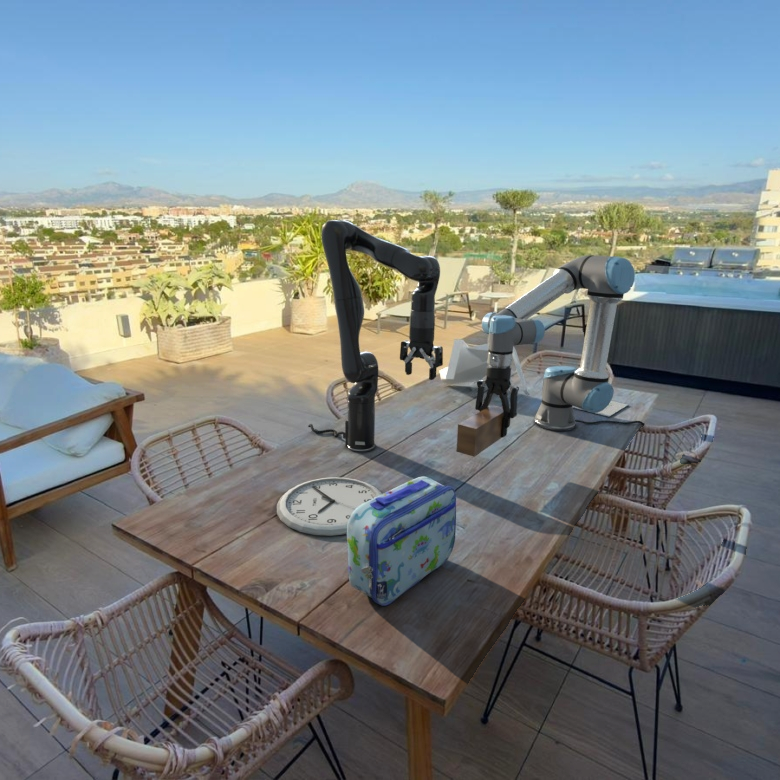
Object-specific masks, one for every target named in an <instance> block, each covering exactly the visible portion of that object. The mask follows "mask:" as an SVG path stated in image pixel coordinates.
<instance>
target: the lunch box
mask: <svg viewBox="0 0 780 780" xmlns="http://www.w3.org/2000/svg"><path fill="white" fill-rule="evenodd" d="M456 524H457V494H456V490H455V488H454V487H453V486H451V485H444V484H441V483H440V482H438V481H436V480H434V479H432V478H431V477H428V476H422V475H421V476H419V477H416V478H413V479H411V480H408V481H407V482H404V483H402V484H400V485H398V486H396V487H394V488H392V489H390V490H388V491H386V492H383V494H381V495H380V496H378V497H376V498H374V499H372V500H370V501H368V502H365V503H363V504H362V505H360V506H358V507H357V508H356V509H355V510H354V511H353V513H352V514H351V516H350V518H349V521H348V525H347V534H346V545H347V546H346V548H347V570H348V572H347V573H348V581H349V583H350V585H351V587H353V588H354V589H356V590H358V591H361V592H362V593H364V594H365V595H366V596H368V597H369V598H371V599H372V601H373V602H374V603H375V604H378V605H379V606H383V607H386V606H388V605H390V604H392V603H394V601H396V600H397V599H398V598H399V597H400V596H402V595H403V594H404V593H406V592H407V591H408V590H410V589H411V588H413V587H414V586H415V585H417V584H418V583H419V582H421V580H422V579H424V577H426V576H427V575H430V573H432V572H434V571H435V570H436V569H438V568H440V567H441V566H442V565H444V563H446V562H447V561H448V559H449V558H450V556H451V554H452V552H453V549H454V546H455V542H456V529H457V525H456Z"/></svg>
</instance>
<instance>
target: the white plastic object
mask: <svg viewBox="0 0 780 780" xmlns="http://www.w3.org/2000/svg"><path fill="white" fill-rule="evenodd" d="M492 313H497V311H496V310H495V311H492ZM488 346H489V342H487V343H483V344H479V345H473V346H469V345H468V343H466V342H465V340H464V339H463V338H460V339H458V338H454V340H453V344H452V349H451V353H450V357H449V362H448V366H446V367H444V368H442V369H440V370H439V371H438V372H439V376H440V381H442V383H443V384H444V385H445V386H449V385H458V384H467V383H468V384H469V383H473V384H477V382H478V381H480V380H484V378H485V377H487V376H486V373H487V366H488V365H489V364H488V363H487V360H488ZM512 361H513V363H514V366H515V369H516V372H517V376H518V380H519V382H520V385H521V389H522V391H523V393H524V395H525V396H526V397H528V396H531V395H530V390H529V388H528V387H529V386H528V384H527V381H526V378H525V375H524V371H523V369H522V368H523V367H522V366H521V362H520V359H519V355H518V352H517V349H516V347H515V346H513V353H512ZM510 383H511V385H512V386H514V387H515V385H514V381H513V378H512V376H511V377H510ZM508 391H510V389H508Z"/></svg>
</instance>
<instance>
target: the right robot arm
mask: <svg viewBox="0 0 780 780" xmlns="http://www.w3.org/2000/svg"><path fill="white" fill-rule="evenodd" d="M635 273H636V272H635V269H634V266H633V264H632V263H631V261H630V260H629V259H627V258H626V257H620V256H615V255H614V256H613V255H612V256H610V255H609V256H608V255H595V254H586V255H582V256H579V257H577V258H574V259H571V260H570V261H568V262H566V263H565V264H563V265H561V266H559V267H558V268H557V269H554V271H553V272H552V275H551V276H550V277H548V278H547V279H546V280H544V281H542V282H541V283H539V284H538V285H537V286H535V287H534V288H533V289H531V290H530V291H527V292H526V293H525V294H523V296H521V297H519V298H518V299H516V300H515V301H513V302H512V303H510V304H509V305H508V306H506V307H505V308H503V309H501V310H500V311H499V312H496V313H493V312H488V313H486V314H485V315H484V316H483V318H482V320H481V328H482V329H481V330H482V331H483V332H484V333H485V334H487V335H488V344H489V346H488V360H487V363H488V364H489V365H488V366H487V373H486V376H485V377H486V378H485V379H483V380H480V381H478V382H477V383H476V385H477V392H476V393H477V394H476V399H475V407H474V409H475V411H479V412H480V411H482V410H484V409H486V408H487V407H489V406H490V403H491V400H492V398H493V395H498V397H499V399H500V403H501V407H502V408H503V412H504V418H502V427H501V439H503V438H505V437H506V436H507V434H508V428H510V426H511V419H514V418H515V417H517V415H518V393H519V390H520V387H519V386H515V385H514V386H512V385H511V383H510V377H511V378H512V364H513V359H512V353H513V346H514V347H515V346H522V345H532V344H536V343H539V342H541V341H542V340H543V339H544V337H545V333H546V328H545V325H544V323H543V322H542V321H541V320H540V319H532V318H531V317H533V316H534V315H536V314H537V313H539V312H540V311H542V310H543V309H544V308H546V307H547V306H548V305H550V304H552V303H553V302H554V301H556V300H558V299H559V298H560V297H562V296H563V295H564V294H571V293H572V292H574V291H575V290H581V289H583V290H587V294H586V296H587V298H588V299H589V300H590V303H589V310H588V316H587V322H586V327H585V334H584V338H583V339H584V340H583V345H582V346H583V347H582V352H581V359H580V364H579V367H578V368H577V367H574V366H567V365H557V366H550V367H547V368H546V369H545V370H544V375H543V378H542V379H543V381H542V392H541V402H540V405H539V407H538V410H537V411H536V413H535V416H534V424H535V425H536V426H537V427H539V428H542V429H544V430H549V431H556V432H567V431H572V430H574V429H575V428H576V423H580V424H584V425H594V424H595V425H596V424H601V423H603V424H605V423H607V424H616V425H617V424H618V425H632V424H637V423H638V424H640V425H642V426H645V425H646V424H645V423H644V422H643V421H641V420H633V421H617V420H616V421H615V420H596V421H584V420H580V419H576V418H575V417H576V416H575V413H574V407H578V408H581V409H583V410H582V411H584V412H588V411H589V412H588V413H592V412H593V414H596V413H597V412H600V411H602V410H604V409H605V408H606V407H607V406H608V405H609V403H610V402H611V401H613V397H614V393H615V392H614V386H613V385H612V384H611V383H610V382H609V378H610V375H609V374H608V372H607V371H606V369H607V365H608V364H607V363H608V358H609V353H610V347H611V342H612V335H613V330H614V323H615V318H616V312H617V306H618V303H620V302H621V301H622V300H624V295H625V294H627V293H629V292H630V291H631V289H632V287H634V283H635V278H636V274H635ZM485 387H487V391H486V395H485ZM509 389H510V390H509ZM508 391H509V393H510V395H509V396H510V397H509V399H510V400H509V399H508V394H509V393H508ZM484 396H485V397H484Z"/></svg>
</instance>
